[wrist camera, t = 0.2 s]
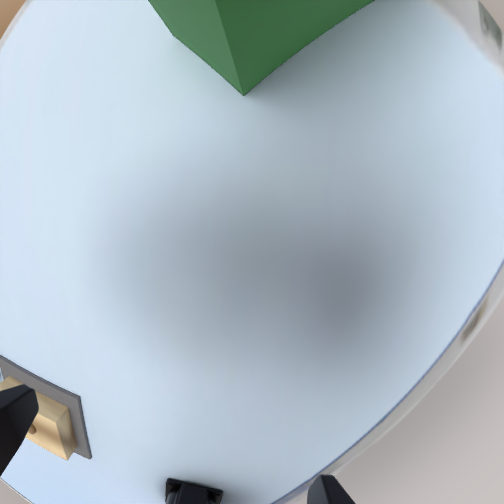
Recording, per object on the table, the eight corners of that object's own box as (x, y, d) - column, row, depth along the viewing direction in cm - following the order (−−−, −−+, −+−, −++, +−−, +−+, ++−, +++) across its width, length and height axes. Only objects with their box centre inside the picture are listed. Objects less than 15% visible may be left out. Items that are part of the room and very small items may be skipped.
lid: (77, 445, 26) (65, 463, 23) (21, 415, 26) (8, 429, 23) (68, 407, 24) (53, 425, 21) (9, 375, 24) (-7, 389, 21)
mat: (91, 457, 27) (90, 459, 26) (19, 418, 27) (17, 420, 26) (79, 396, 25) (77, 399, 24) (0, 354, 25) (-3, 356, 24)
